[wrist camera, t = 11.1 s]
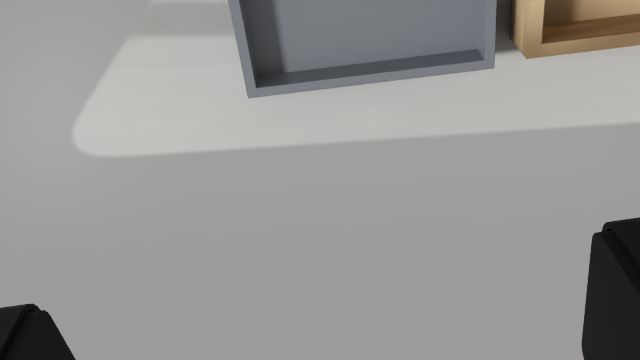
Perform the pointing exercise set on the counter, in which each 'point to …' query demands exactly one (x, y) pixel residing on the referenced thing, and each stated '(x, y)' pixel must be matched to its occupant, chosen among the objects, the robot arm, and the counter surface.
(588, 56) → the counter surface
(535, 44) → the tray
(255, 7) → the container
